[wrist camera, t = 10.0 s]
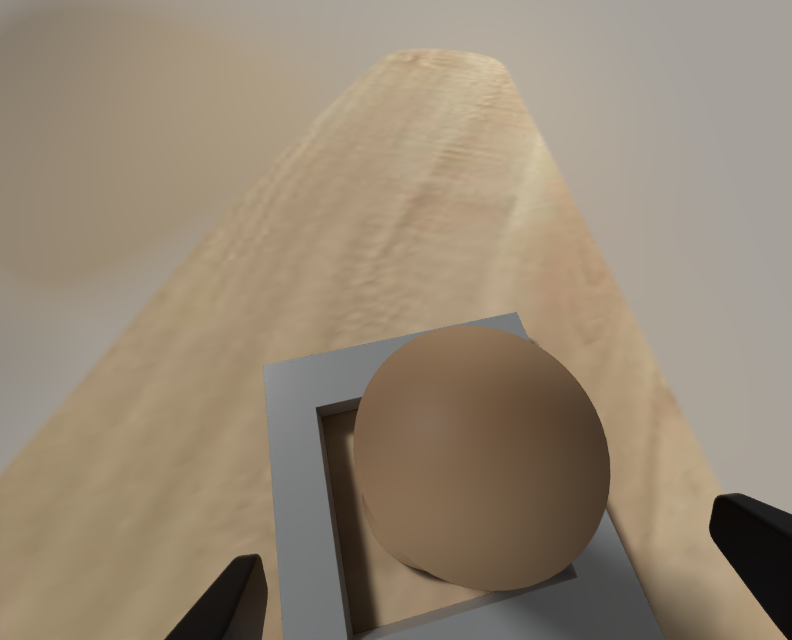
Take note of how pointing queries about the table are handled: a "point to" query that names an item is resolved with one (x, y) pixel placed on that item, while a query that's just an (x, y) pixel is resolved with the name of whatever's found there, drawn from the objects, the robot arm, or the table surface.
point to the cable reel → (480, 459)
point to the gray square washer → (320, 546)
